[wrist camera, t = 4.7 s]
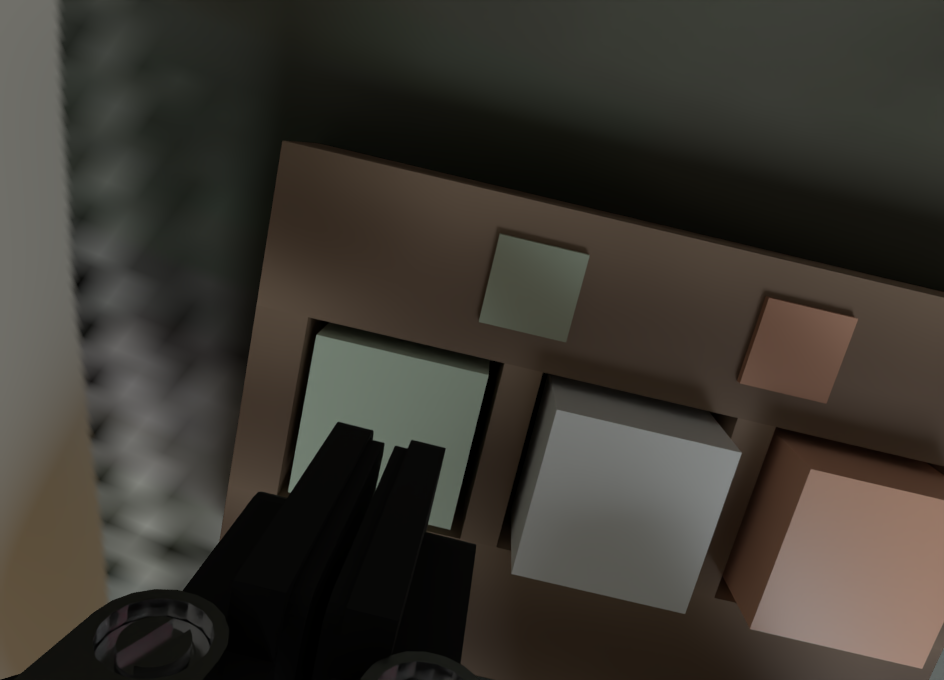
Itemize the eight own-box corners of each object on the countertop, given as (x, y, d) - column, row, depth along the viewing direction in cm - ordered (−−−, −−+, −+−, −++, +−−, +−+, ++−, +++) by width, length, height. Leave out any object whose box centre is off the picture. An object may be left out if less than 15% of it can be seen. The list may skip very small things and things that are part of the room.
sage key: (344, 308, 19) (316, 334, 16) (491, 343, 19) (488, 375, 16) (318, 445, 20) (287, 492, 17) (458, 477, 20) (450, 529, 17)
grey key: (548, 369, 18) (557, 409, 15) (704, 406, 18) (741, 452, 15) (510, 512, 19) (511, 574, 16) (658, 546, 19) (685, 614, 16)
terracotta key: (762, 420, 18) (810, 469, 15) (918, 456, 18) (994, 511, 15) (713, 559, 19) (750, 628, 16) (860, 593, 19) (922, 668, 16)
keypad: (317, 143, 18) (279, 140, 15) (999, 305, 19) (1097, 334, 15) (248, 552, 21) (204, 618, 18) (835, 687, 22) (891, 776, 18)
